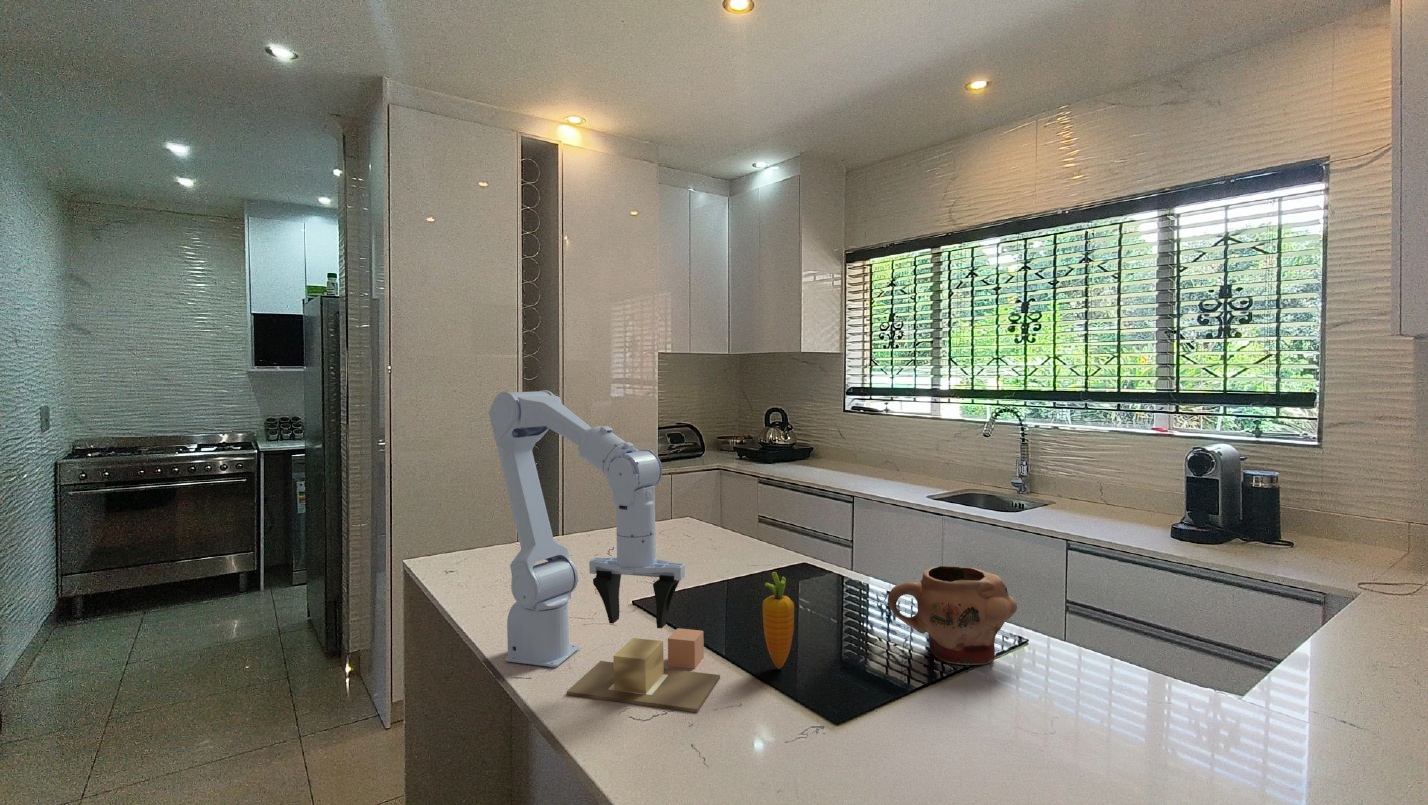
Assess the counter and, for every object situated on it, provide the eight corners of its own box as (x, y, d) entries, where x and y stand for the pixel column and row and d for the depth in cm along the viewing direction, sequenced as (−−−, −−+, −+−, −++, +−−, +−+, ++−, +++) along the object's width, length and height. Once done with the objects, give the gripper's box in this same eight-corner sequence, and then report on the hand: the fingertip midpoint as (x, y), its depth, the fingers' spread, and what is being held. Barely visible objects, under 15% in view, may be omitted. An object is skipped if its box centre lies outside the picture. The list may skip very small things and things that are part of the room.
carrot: (793, 677, 104) (792, 579, 104) (761, 674, 105) (760, 578, 105) (796, 663, 109) (795, 570, 108) (765, 661, 110) (764, 569, 109)
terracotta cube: (668, 666, 109) (667, 638, 109) (677, 655, 113) (677, 628, 113) (694, 669, 108) (694, 641, 107) (703, 657, 112) (703, 630, 112)
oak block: (614, 689, 100) (613, 655, 99) (633, 669, 106) (632, 637, 106) (645, 693, 98) (645, 659, 98) (663, 673, 105) (663, 641, 105)
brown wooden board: (566, 694, 99) (566, 691, 99) (600, 663, 110) (600, 660, 110) (697, 712, 94) (697, 708, 94) (720, 678, 104) (719, 674, 104)
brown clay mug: (898, 672, 105) (898, 583, 105) (881, 641, 117) (880, 561, 117) (1030, 672, 105) (1030, 582, 104) (998, 641, 117) (998, 560, 116)
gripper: (578, 536, 99) (580, 628, 100) (672, 542, 95) (674, 638, 96) (600, 525, 106) (602, 612, 107) (689, 530, 102) (690, 620, 102)
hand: (637, 623), depth 102 cm, fingers open, 7 cm apart
